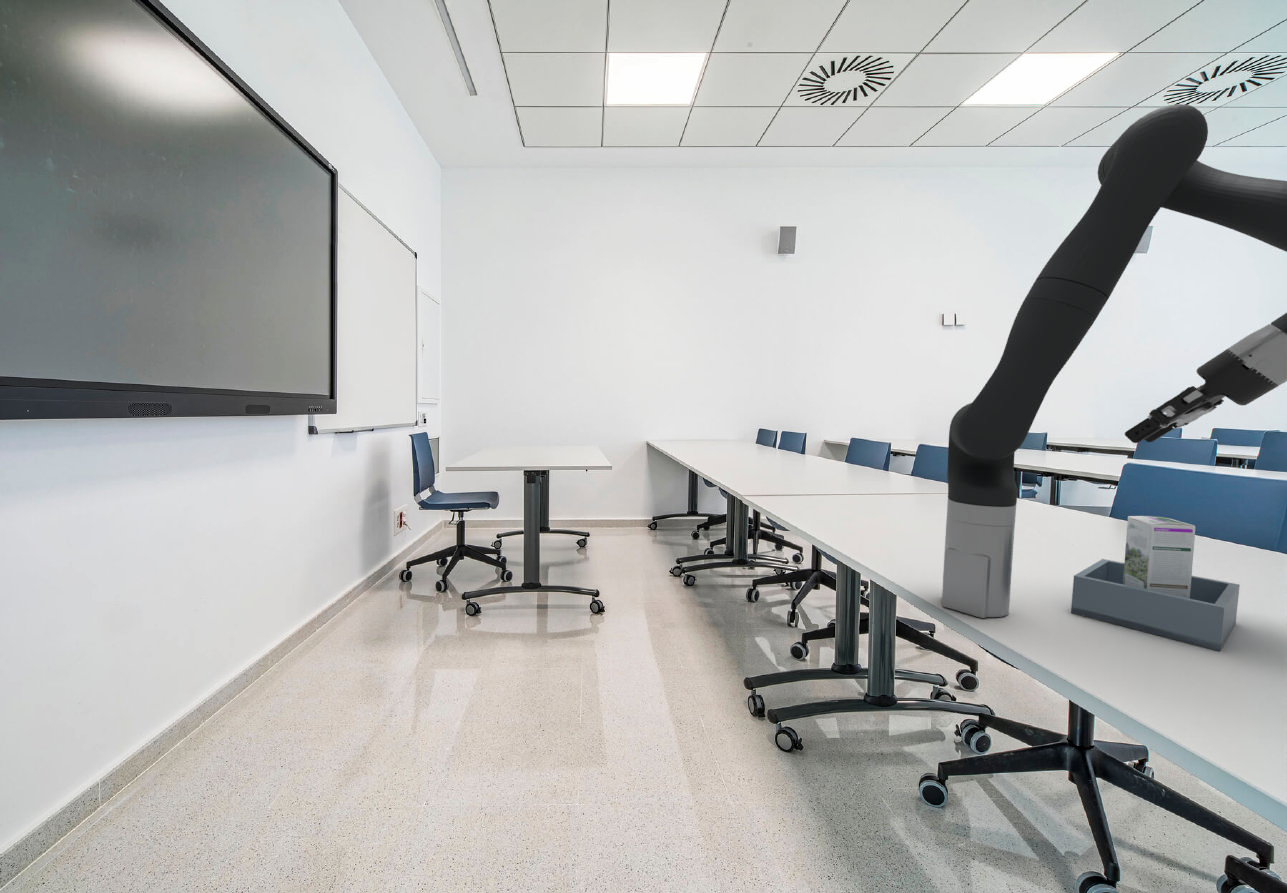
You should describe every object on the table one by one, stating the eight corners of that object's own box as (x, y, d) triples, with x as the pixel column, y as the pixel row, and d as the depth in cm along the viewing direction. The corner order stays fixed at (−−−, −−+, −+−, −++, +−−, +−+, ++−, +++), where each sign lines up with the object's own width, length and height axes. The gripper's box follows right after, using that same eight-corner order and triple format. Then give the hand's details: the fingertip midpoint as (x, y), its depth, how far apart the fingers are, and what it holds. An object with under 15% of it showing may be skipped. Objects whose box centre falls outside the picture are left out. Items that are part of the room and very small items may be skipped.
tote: (1219, 651, 70) (1224, 607, 70) (1070, 612, 83) (1073, 575, 83) (1235, 623, 80) (1239, 584, 80) (1099, 592, 93) (1102, 558, 92)
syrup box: (1190, 621, 78) (1199, 524, 77) (1142, 617, 79) (1151, 522, 78) (1162, 607, 83) (1171, 516, 82) (1118, 603, 85) (1126, 514, 84)
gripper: (1238, 351, 81) (1129, 421, 91) (1222, 342, 72) (1104, 420, 83) (1286, 386, 77) (1167, 455, 87) (1276, 381, 69) (1145, 458, 79)
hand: (1136, 438), depth 85 cm, fingers open, 8 cm apart
